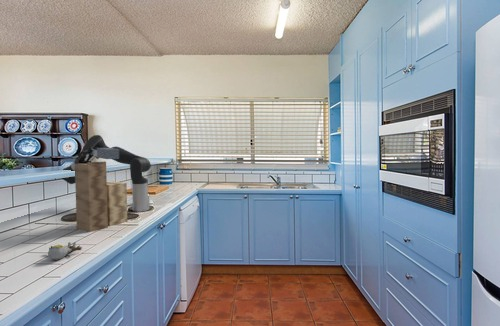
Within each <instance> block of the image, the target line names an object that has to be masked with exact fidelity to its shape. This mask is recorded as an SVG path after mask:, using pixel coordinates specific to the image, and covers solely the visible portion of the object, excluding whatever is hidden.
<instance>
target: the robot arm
mask: <svg viewBox="0 0 500 326" xmlns="http://www.w3.org/2000/svg"><path fill="white" fill-rule="evenodd" d="M97 148H110V147H109V146H108V145H107V144H106V143H105V140H104V138H103V137H102V136H101V135H100V134H94V135H92V136H90V138H89V139H87V141H86V143H85V145H84V146H83V148H82V150H81V152H78V153H77V154H75V155H74V158H75V159H74V160H72V163H71V164H70V165H69V166H66V167H65V168H62V169H63V170H71V171H75V164H84V163H87V162H92V161H93V160H94V159H97V160H99V159H100V158H98V157H97V156H96V155H91V154H90V153H91V152H92V151H93V149H94V150H97ZM111 148H114V149H119V159H111V160H112V161H114V162H117V163H120V164H124V165H129V169H130V171H129V172H130V179H131V187H132V188H131V191H132V193H131V196H132V211H133V212H135V213H136V212H137V213H138V212H139V213H141V212H146V211H148V210H150V194H149V189H148V187H149V185H148V183H149V182H148V178H147V177H145V176H143V173H146V172H148V171H149V170H150V169H151V167H152V165H151V162H150V160H149V159H148V158H146V157H144V156H139V155H136V154H134V153H132V152H130V151H128V150H126V149H125V148H122V147H119V146H112V147H111ZM62 180H63V181H65V182H66V183H68V184H69V185H73V184H74V185H75V177H69V178H62Z"/></svg>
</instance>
